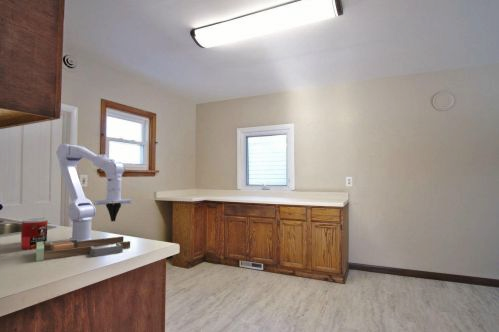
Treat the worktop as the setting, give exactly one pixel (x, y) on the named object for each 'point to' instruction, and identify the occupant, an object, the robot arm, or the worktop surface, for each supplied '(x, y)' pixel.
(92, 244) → the track
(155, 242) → the worktop surface
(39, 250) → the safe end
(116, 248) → the traps
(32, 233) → the canned food
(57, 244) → the block
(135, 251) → the worktop surface
